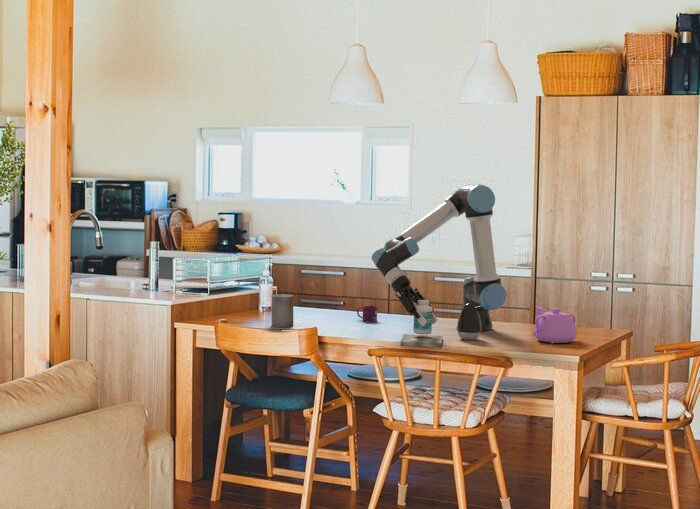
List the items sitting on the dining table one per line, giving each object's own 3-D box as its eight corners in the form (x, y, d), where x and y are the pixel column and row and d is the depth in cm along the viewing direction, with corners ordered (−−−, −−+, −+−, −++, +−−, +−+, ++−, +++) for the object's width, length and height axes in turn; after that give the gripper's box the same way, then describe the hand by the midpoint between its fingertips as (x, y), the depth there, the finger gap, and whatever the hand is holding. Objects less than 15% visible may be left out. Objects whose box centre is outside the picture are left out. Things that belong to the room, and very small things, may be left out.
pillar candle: (286, 323, 422) (286, 290, 421) (297, 326, 414) (297, 292, 413) (267, 325, 417) (267, 291, 416) (278, 328, 409) (278, 294, 408)
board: (442, 339, 387) (442, 335, 387) (441, 347, 367) (441, 343, 367) (403, 337, 389) (403, 334, 389) (400, 345, 369) (400, 341, 369)
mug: (372, 322, 432) (372, 308, 432) (353, 320, 438) (354, 306, 438) (379, 321, 438) (380, 306, 438) (361, 319, 444) (362, 304, 443)
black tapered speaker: (475, 342, 382) (476, 305, 381) (452, 339, 387) (453, 303, 386) (485, 339, 390) (486, 302, 389) (462, 336, 396) (464, 300, 395)
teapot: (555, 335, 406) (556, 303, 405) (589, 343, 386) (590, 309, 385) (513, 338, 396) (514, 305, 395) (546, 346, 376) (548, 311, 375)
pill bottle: (418, 335, 378) (418, 301, 377) (410, 332, 385) (411, 299, 384) (434, 334, 381) (435, 301, 380) (426, 331, 388) (427, 299, 387)
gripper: (405, 284, 399) (437, 326, 391) (378, 287, 383) (410, 331, 374) (416, 273, 396) (448, 314, 387) (389, 275, 379) (422, 319, 371)
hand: (430, 323), depth 381 cm, fingers closed on pill bottle, 7 cm apart
